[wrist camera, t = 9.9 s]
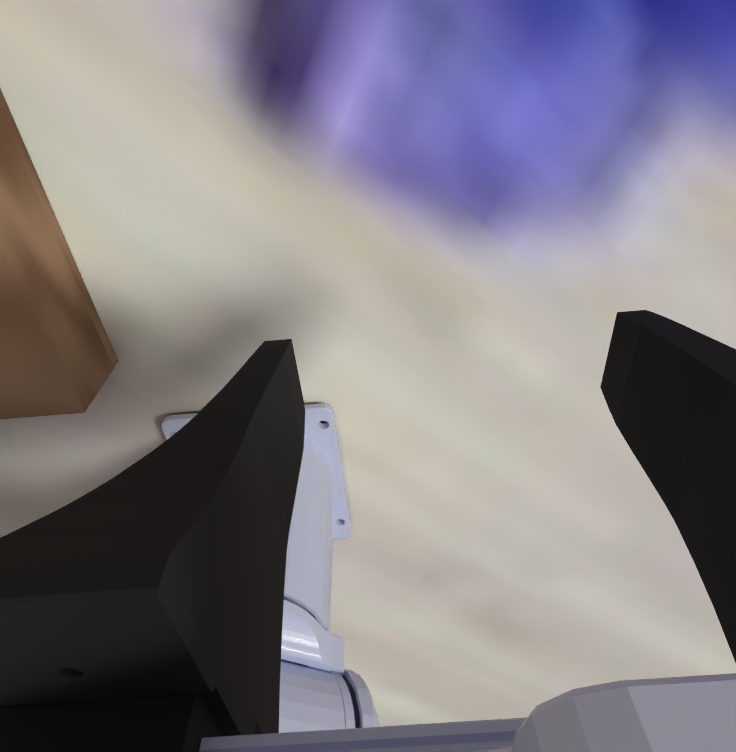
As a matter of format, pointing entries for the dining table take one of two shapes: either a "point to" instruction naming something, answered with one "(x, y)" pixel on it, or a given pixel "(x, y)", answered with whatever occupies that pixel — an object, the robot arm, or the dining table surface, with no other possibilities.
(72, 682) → the robot arm
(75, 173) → the dining table surface
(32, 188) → the well
